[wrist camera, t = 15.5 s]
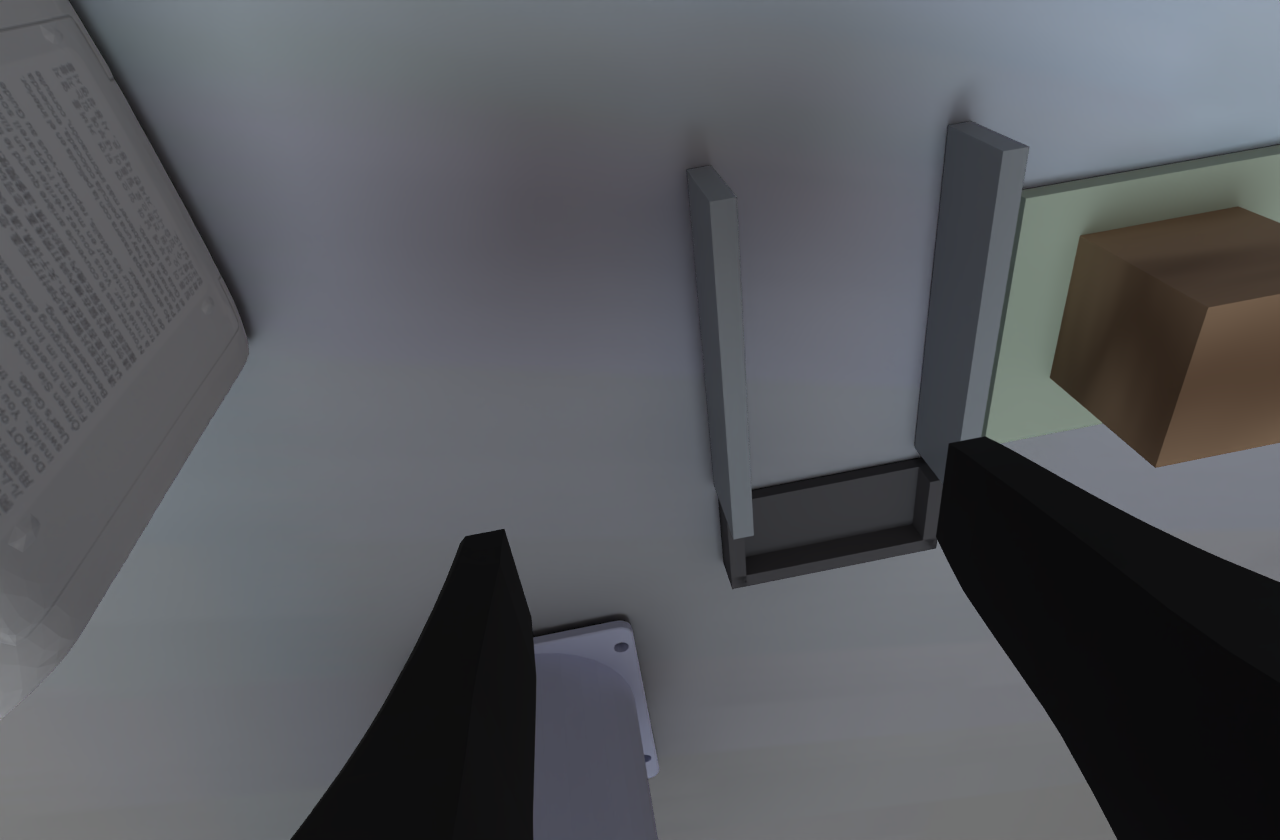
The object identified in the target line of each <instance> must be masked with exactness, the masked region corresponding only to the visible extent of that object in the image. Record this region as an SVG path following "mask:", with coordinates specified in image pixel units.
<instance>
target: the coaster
mask: <svg viewBox="0 0 1280 840" xmlns="http://www.w3.org/2000/svg"><path fill="white" fill-rule="evenodd" d="M1237 206H1239V207H1241V208H1244V209H1246V210H1249V211H1251V212H1254V213H1256V214H1259V215H1261V216H1264V217H1266V218H1269V219H1271V220H1274V221H1276V222H1279V223H1280V145H1276V146H1270V147H1265V148H1259V149H1253V150H1248V151H1242V152H1236V153H1231V154H1225V155H1219V156H1213V157H1208V158H1202V159H1196V160H1191V161H1185V162H1179V163H1173V164H1168V165H1162V166H1156V167H1151V168H1145V169H1139V170H1134V171H1128V172H1122V173H1116V174H1111V175H1105V176H1099V177H1094V178H1088V179H1082V180H1077V181H1071V182H1065V183H1059V184H1054V185H1048V186H1042V187H1037V188H1031V189H1025V190H1022V194H1021V200H1020V206H1019V212H1018V218H1017V224H1016V230H1015V236H1014V242H1013V248H1012V254H1011V260H1010V266H1009V272H1008V278H1007V284H1006V290H1005V297H1004V303H1003V309H1002V315H1001V321H1000V327H999V333H998V339H997V345H996V351H995V357H994V363H993V369H992V375H991V381H990V387H989V393H988V399H987V405H986V411H985V417H984V423H983V429H982V435H981V437H984V436H986V437H988V438H990V439H992V440H994V441H996V442H998V443H1005V442H1010V441H1015V440H1020V439H1026V438H1031V437H1036V436H1041V435H1046V434H1052V433H1057V432H1062V431H1067V430H1072V429H1077V428H1083V427H1088V426H1093V425H1098V424H1103V423H1102V422H1101V421H1100V420H1099V419H1097V418H1096V417H1095V416H1094V415H1093V414H1091V413H1090V412H1089V411H1088V410H1087V409H1086V408H1084V407H1083V406H1082V405H1081V404H1080V403H1079V402H1077V401H1076V400H1075V399H1074V398H1073V397H1071V396H1070V395H1069V394H1068V393H1067V392H1066V391H1064V390H1063V389H1062V388H1061V387H1060V386H1059V385H1057V384H1056V383H1055V382H1054V381H1053V380H1052V379H1050V374H1051V369H1052V364H1053V359H1054V355H1055V350H1056V345H1057V341H1058V336H1059V331H1060V326H1061V322H1062V317H1063V312H1064V308H1065V303H1066V298H1067V293H1068V289H1069V284H1070V279H1071V275H1072V270H1073V265H1074V260H1075V256H1076V251H1077V246H1078V242H1079V237H1080V235H1086V234H1091V233H1097V232H1102V231H1108V230H1113V229H1118V228H1124V227H1129V226H1135V225H1140V224H1145V223H1151V222H1156V221H1162V220H1167V219H1172V218H1178V217H1183V216H1189V215H1194V214H1200V213H1205V212H1210V211H1216V210H1221V209H1227V208H1232V207H1237Z"/></svg>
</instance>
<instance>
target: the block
mask: <svg viewBox="0 0 1280 840" xmlns="http://www.w3.org/2000/svg"><path fill="white" fill-rule="evenodd" d="M1050 379H1052V380H1053V381H1054V382H1055V383H1056V384H1057V385H1059V386H1060V387H1061V388H1062V389H1063V390H1064V391H1066V392H1067V393H1068V394H1069V395H1070V396H1071V397H1073V398H1074V399H1075V400H1076V401H1077V402H1079V403H1080V404H1081V405H1082V406H1083V407H1084V408H1086V409H1087V410H1088V411H1089V412H1090V413H1091V414H1093V415H1094V416H1095V417H1096V418H1097V419H1099V420H1100V421H1101V422H1102V423H1103V424H1104V425H1106V426H1107V427H1108V428H1109V429H1110V430H1111V431H1113V432H1114V433H1115V434H1116V435H1117V436H1118V437H1120V438H1121V439H1122V440H1123V441H1124V442H1126V443H1127V444H1128V445H1129V446H1130V447H1131V448H1133V449H1134V450H1135V451H1136V452H1137V453H1138V454H1140V455H1141V456H1142V457H1143V458H1144V459H1145V460H1147V461H1148V462H1149V463H1150V464H1151V465H1153V466H1154V467H1155V468H1156V467H1161V466H1166V465H1171V464H1176V463H1181V462H1186V461H1191V460H1196V459H1201V458H1206V457H1211V456H1216V455H1221V454H1226V453H1231V452H1236V451H1241V450H1246V449H1251V448H1256V447H1261V446H1265V445H1270V444H1275V443H1280V223H1279V222H1276V221H1274V220H1271V219H1269V218H1266V217H1264V216H1261V215H1259V214H1256V213H1254V212H1251V211H1249V210H1246V209H1244V208H1241V207H1239V206H1237V207H1232V208H1227V209H1221V210H1216V211H1210V212H1205V213H1200V214H1194V215H1189V216H1183V217H1178V218H1172V219H1167V220H1162V221H1156V222H1151V223H1145V224H1140V225H1135V226H1129V227H1124V228H1118V229H1113V230H1108V231H1102V232H1097V233H1091V234H1086V235H1080V237H1079V242H1078V246H1077V251H1076V256H1075V260H1074V265H1073V270H1072V275H1071V279H1070V284H1069V289H1068V293H1067V298H1066V303H1065V308H1064V312H1063V317H1062V322H1061V326H1060V331H1059V336H1058V341H1057V345H1056V350H1055V355H1054V359H1053V364H1052V369H1051V374H1050Z"/></svg>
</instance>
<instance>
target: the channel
mask: <svg viewBox="0 0 1280 840" xmlns="http://www.w3.org/2000/svg"><path fill="white" fill-rule="evenodd" d="M1028 152H1029V146H1026V145H1024V144H1022V143H1020V142H1017V141H1015V140H1013V139H1011V138H1008V137H1006V136H1004V135H1002V134H999V133H997V132H995V131H993V130H990V129H988V128H986V127H984V126H981V125H979V124H977V123H974V122H972V121H970V122H965V123H959V124H953V125H948V134H947V144H946V153H945V163H944V172H943V182H942V191H941V201H940V210H939V220H938V229H937V238H936V248H935V257H934V267H933V276H932V286H931V295H930V305H929V314H928V324H927V333H926V343H925V352H924V362H923V371H922V381H921V390H920V400H919V409H918V419H917V428H916V438H915V449H916V450H917V451H918V453H919V454H920V455H921V456H922V458H923V459H924V460H925V462H926V463H927V464H928V466H929V467H930V468H931V469H932V471H933V472H934V473H935V475H936V476H937V477H938V479H939V480H940V481H941V482H942V484H943V481H944V474H945V466H946V459H947V452H948V445H949V443H953V442H958V441H963V440H968V439H973V438H979V437H981V435H982V429H983V423H984V417H985V411H986V405H987V399H988V393H989V387H990V381H991V375H992V369H993V363H994V357H995V351H996V345H997V339H998V333H999V327H1000V321H1001V315H1002V309H1003V303H1004V297H1005V290H1006V284H1007V278H1008V272H1009V266H1010V260H1011V254H1012V248H1013V242H1014V236H1015V230H1016V224H1017V218H1018V212H1019V206H1020V200H1021V194H1022V188H1023V182H1024V176H1025V170H1026V164H1027V158H1028ZM687 180H688V191H689V203H690V214H691V226H692V237H693V249H694V260H695V272H696V283H697V295H698V306H699V318H700V329H701V341H702V352H703V364H704V375H705V387H706V398H707V410H708V421H709V433H710V444H711V456H712V467H713V479H714V487H715V490H716V492H717V495H718V498H719V501H720V503H721V506H722V509H723V512H724V514H725V517H726V520H727V523H728V525H729V528H730V531H731V533H732V536H733V539H739V538H744V537H749V536H754V529H753V509H752V489H751V469H750V449H749V429H748V410H747V390H746V370H745V350H744V330H743V311H742V291H741V271H740V251H739V231H738V211H737V197H736V196H735V194H734V193H733V192H732V191H731V190H730V188H729V187H728V186H727V185H726V183H725V182H724V181H723V180H722V179H721V177H720V176H719V175H718V174H717V172H716V171H715V170H714V169H713V168H712V166H705V167H699V168H694V169H688V170H687Z"/></svg>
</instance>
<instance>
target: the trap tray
mask: <svg viewBox="0 0 1280 840" xmlns="http://www.w3.org/2000/svg"><path fill="white" fill-rule="evenodd" d="M942 488H943V484H942V482H941V481H940V480H939V479H938V477H937V476H936V475H935V473H934V472H933V471H932V469H931V468H930V467H929V466H928V464H927V463H926V462H925V460H924V459H923V458H919V459H913V460H908V461H903V462H898V463H893V464H887V465H882V466H877V467H872V468H867V469H862V470H856V471H851V472H846V473H841V474H836V475H831V476H825V477H820V478H815V479H810V480H805V481H799V482H794V483H789V484H784V485H779V486H774V487H768V488H763V489H758V490H753V491H752V509H753V529H754V536H749V537H744V538H739V539H733V536H732V533H731V531H730V528H729V525H728V523H727V520H726V517H725V514H724V512H723V509H722V506H721V503H720V501H719V498H718V501H719V513H720V525H721V537H722V549H723V561H724V566H725V569H726V572H727V575H728V578H729V580H730V583H731V586H732V589H735V588H740V587H745V586H750V585H755V584H760V583H765V582H770V581H775V580H780V579H785V578H790V577H795V576H800V575H805V574H810V573H815V572H820V571H825V570H830V569H835V568H840V567H845V566H850V565H855V564H860V563H865V562H870V561H875V560H880V559H885V558H890V557H895V556H900V555H905V554H910V553H915V552H920V551H925V550H930V549H935V548H936V545H937V538H936V532H937V525H938V518H939V510H940V503H941V496H942Z"/></svg>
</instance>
